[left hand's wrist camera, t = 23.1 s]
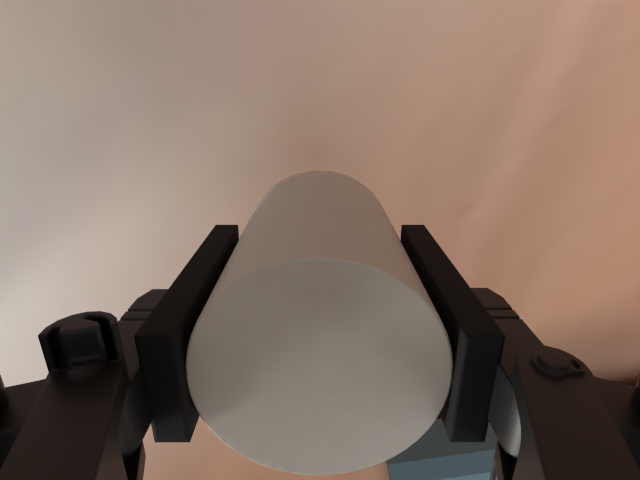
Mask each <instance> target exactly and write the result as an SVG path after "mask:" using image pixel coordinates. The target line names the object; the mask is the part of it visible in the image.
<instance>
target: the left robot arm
mask: <svg viewBox="0 0 640 480" xmlns="http://www.w3.org/2000/svg"><path fill="white" fill-rule="evenodd" d="M238 241H239V233H238V225H216V226H215V227H214V228H213V230H212V231H211V232H210V234H209V235H208V236H207V238H206V239H205V240H204V242H203V243H202V244H201V246H200V247H199V249H198V250H197V251H196V253H195V254H194V255H193V257H192V258H191V259H190V261H189V262H188V263H187V265H186V266H185V268H184V269H183V270H182V272H181V273H180V274H179V276H178V277H177V278H176V280H175V281H174V282H173V284H172V285H171V287H170V288H169V289H152V290H151V291H149V292H147V293H146V294H144V295H142V296H141V297H139V298H137V300H136V301H135V302H134V303H133V304H132V305H131V307H130V308H129V309H128V312H125V314H124V315H123V316H122V317H121V318H120V319H121V320H120V321H118V322H117V318H116V317H115V316H113V315H112V314H111V313H106V312H101V311H96V312H84V313H79V314H75V315H71V316H68V317H66V318H63V319H60V320H58V321H56V322H54V323H53V324H51V325H49V326H48V327H46V328H45V329H44V330H43V331H42V332H41V333H40V334H39V335H38V338H39V341H40V344H41V348H42V351H43V354H44V358H45V361H46V364H47V368H48V371H49V373H48V375H47V377H46V379H43V380H40V381H35V382H30V383H25V384H20V385H15V386H10V387H4V384H3V381H2V378H1V375H0V480H143V474H144V466H145V458H146V457H145V450H144V445H143V438H144V436H145V434H146V432H147V430H148V428H149V426H150V424H151V425H152V430H153V435H154V440H155V442H190V440H191V437H192V435H193V432H194V429H195V426H196V424H197V421H198V418H199V415H200V414H199V412H198V411H197V409H196V407H195V405H194V402H193V400H192V398H191V395H190V392H189V387H188V383H187V376H186V354H187V348H188V344H189V340H190V336H191V334H192V331H193V329H194V327H195V324H196V322H197V320H198V318H199V316H200V314H201V312H202V311H203V309H204V307H205V305H206V303H207V301H208V299H209V297H210V295H211V293H212V291H213V289H214V287H215V285H216V284H217V282H218V280H219V278H220V276H221V274H222V272H223V270H224V268H225V266H226V264H227V262H228V260H229V258H230V257H231V255H232V253H233V251H234V249H235V247H236V245H237V243H238ZM401 243H402V245H403V247H404V249H405V251H406V253H407V255H408V257H409V259H410V261H411V263H412V265H413V267H414V268H415V270H416V272H417V274H418V276H419V278H420V280H421V282H422V284H423V286H424V288H425V290H426V292H427V294H428V296H429V297H430V299H431V301H432V303H433V305H434V307H435V309H436V311H437V313H438V315H439V317H440V319H441V321H442V323H443V325H444V327H445V330H446V332H447V334H448V337H449V341H450V345H451V348H452V357H453V374H452V382H451V386H450V391H449V394H448V397H447V399H446V402H445V404H444V407H443V408H442V410H441V412H440V416H441V419H442V422H443V425H444V427H445V430H446V433H447V436H448V438H449V441H450V442H485V439H486V433H487V428H488V423H489V422H490V424H491V426H492V428H493V430H494V432H495V434H496V436H497V438H498V440H497V445H496V450H495V454H494V459H493V464H492V468H491V473H490V479H489V480H496V476H497V480H640V374H639V377H638V380H637V383H636V385H635V386H634V385H629V384H624V383H619V382H614V381H609V380H604V379H600V378H596V377H593V375H592V373H591V371H590V370H589V369H588V367H587V366H586V365H585V364H584V363H583V362H582V361H580V360H579V359H577V358H576V357H575V356H573V355H571V354H569V353H566V352H564V351H562V350H560V349H556V348H552V347H548V346H544V345H543V344H542V343H541V341H540V340H539V339H538V338H537V337H536V336H535V334H534V333H533V332H532V331H531V330H530V329H529V327H528V326H527V325H526V324H525V323H524V322H523V320H522V319H520V318H519V316H518V315H517V313H516V312H515V311H514V310H512V308H511V306H510V305H509V304H508V303H507V302H506V301H505V299H504V298H503V297H501V296H500V295H498V294H496V293H495V292H493V291H491V290H490V289H488V288H470V287H469V286H468V284H467V283H466V282H465V280H464V279H463V278H462V276H461V275H460V273H459V272H458V271H457V269H456V268H455V267H454V265H453V264H452V263H451V261H450V260H449V259H448V257H447V256H446V254H445V253H444V252H443V250H442V249H441V248H440V246H439V245H438V244H437V242H436V241H435V240H434V238H433V237H432V235H431V234H430V233H429V231H428V230H427V229H426V227H425V226H424V225H402V229H401Z"/></svg>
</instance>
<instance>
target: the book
mask: <svg viewBox="0 0 640 480" xmlns="http://www.w3.org/2000/svg"><path fill="white" fill-rule="evenodd" d="M497 440H498V438H497V436H496V434H495V432H494V430H493V428H492V426H491V424H490V422H489V423H488V428H487V433H486V439H485V442H450V441H449V438H448V436H447V433H446V430H445V427H444V425H443V422H442V419H441V418H440V419H436V420H435V421H434V423H433V424H432V425H431V427H430V428H429V429H428V430H427V431H426V432H425V433H424V434H423V435H422V436H421V437H420V438H419V439H418V440H417V441H416V442H415V443H413V444H412V445H411V446H410V447H408V448H407V449H406V450H404V451H402V452H401V453H399V454H397V455H396V456H394V457H392V458H390V459H388V460H387V465H388V470H389V476H390V480H489V479H490V473H491V468H492V464H493V459H494V454H495V450H496V445H497ZM496 480H497V476H496Z"/></svg>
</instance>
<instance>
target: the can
mask: <svg viewBox="0 0 640 480" xmlns="http://www.w3.org/2000/svg"><path fill="white" fill-rule="evenodd" d="M452 374H453V357H452V348H451V345H450V341H449V337H448V334H447V332H446V330H445V327H444V325H443V323H442V321H441V319H440V317H439V315H438V313H437V311H436V309H435V307H434V305H433V303H432V301H431V299H430V297H429V296H428V294H427V292H426V290H425V288H424V286H423V284H422V282H421V280H420V278H419V276H418V274H417V272H416V270H415V268H414V267H413V265H412V263H411V261H410V259H409V257H408V255H407V253H406V251H405V249H404V247H403V245H402V243H401V241H400V239H399V237H398V236H397V234H396V232H395V230H394V228H393V226H392V224H391V222H390V220H389V218H388V216H387V214H386V212H385V210H384V208H383V207H382V205H381V203H380V202H379V200H378V199H377V198H376V197H375V195H374V194H373V193H372V192H371V191H370V190H369V189H368V188H366V187H365V186H364V185H363V184H361V183H360V182H358V181H356V180H354V179H352V178H350V177H348V176H345V175H342V174H339V173H335V172H330V171H309V172H304V173H299V174H296V175H294V176H291V177H289V178H287V179H285V180H283V181H281V182H279V183H278V184H276V185H275V186H274V187H272V188H271V189H270V190H269V191H268V192H267V193H266V194H265V195H264V197H263V198H262V199H261V200H260V202H259V203H258V205H257V207H256V208H255V210H254V212H253V214H252V216H251V218H250V220H249V222H248V224H247V226H246V228H245V230H244V231H243V233H242V235H241V237H240V239H239V241H238V243H237V245H236V247H235V249H234V251H233V253H232V255H231V257H230V258H229V260H228V262H227V264H226V266H225V268H224V270H223V272H222V274H221V276H220V278H219V280H218V282H217V284H216V285H215V287H214V289H213V291H212V293H211V295H210V297H209V299H208V301H207V303H206V305H205V307H204V309H203V311H202V312H201V314H200V316H199V318H198V320H197V322H196V324H195V327H194V329H193V331H192V334H191V336H190V340H189V344H188V348H187V354H186V376H187V383H188V387H189V392H190V395H191V398H192V400H193V402H194V405H195V407H196V409H197V411H198V412H199V414H200V416H201V418H202V419H203V421H204V422H205V423H206V424H207V426H208V427H209V428H210V429H211V431H212V432H213V433H214V434H215V435H216V436H217V437H218V438H219V439H220V440H221V441H223V442H224V443H225V444H227V445H228V446H229V447H230V448H232V449H233V450H235V451H236V452H238V453H240V454H241V455H243V456H245V457H246V458H248V459H251V460H253V461H255V462H257V463H259V464H262V465H265V466H267V467H270V468H273V469H277V470H281V471H285V472H290V473H297V474H304V475H334V474H342V473H348V472H353V471H357V470H361V469H366V468H368V467H371V466H374V465H377V464H380V463H382V462H384V461H386V460H388V459H390V458H392V457H394V456H396V455H397V454H399V453H401V452H402V451H404V450H406V449H407V448H408V447H410V446H411V445H412V444H413V443H415V442H416V441H417V440H418V439H419V438H420V437H421V436H422V435H423V434H424V433H425V432H426V431H427V430H428V429H429V428H430V427H431V425H432V424H433V423H434V421H435V420H436V419H437V417H438V415H439V414H440V412H441V410H442V408H443V407H444V404H445V402H446V399H447V397H448V394H449V391H450V386H451V382H452Z"/></svg>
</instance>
